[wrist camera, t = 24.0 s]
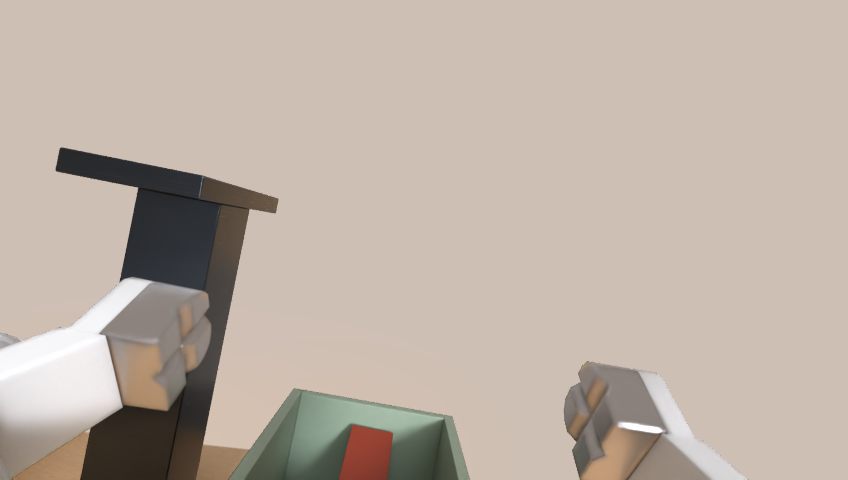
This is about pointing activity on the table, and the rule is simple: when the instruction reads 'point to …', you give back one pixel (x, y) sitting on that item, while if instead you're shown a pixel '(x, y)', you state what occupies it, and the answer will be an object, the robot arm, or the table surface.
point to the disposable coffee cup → (7, 340)
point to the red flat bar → (367, 454)
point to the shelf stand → (182, 266)
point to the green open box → (329, 434)
